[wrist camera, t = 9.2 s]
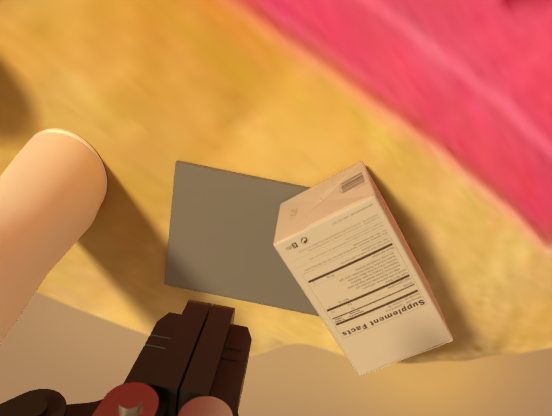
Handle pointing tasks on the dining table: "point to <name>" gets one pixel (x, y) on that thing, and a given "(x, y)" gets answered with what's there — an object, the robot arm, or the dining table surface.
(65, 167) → the white bottle
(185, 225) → the mat
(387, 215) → the supplement box
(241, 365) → the robot arm
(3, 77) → the dining table surface
